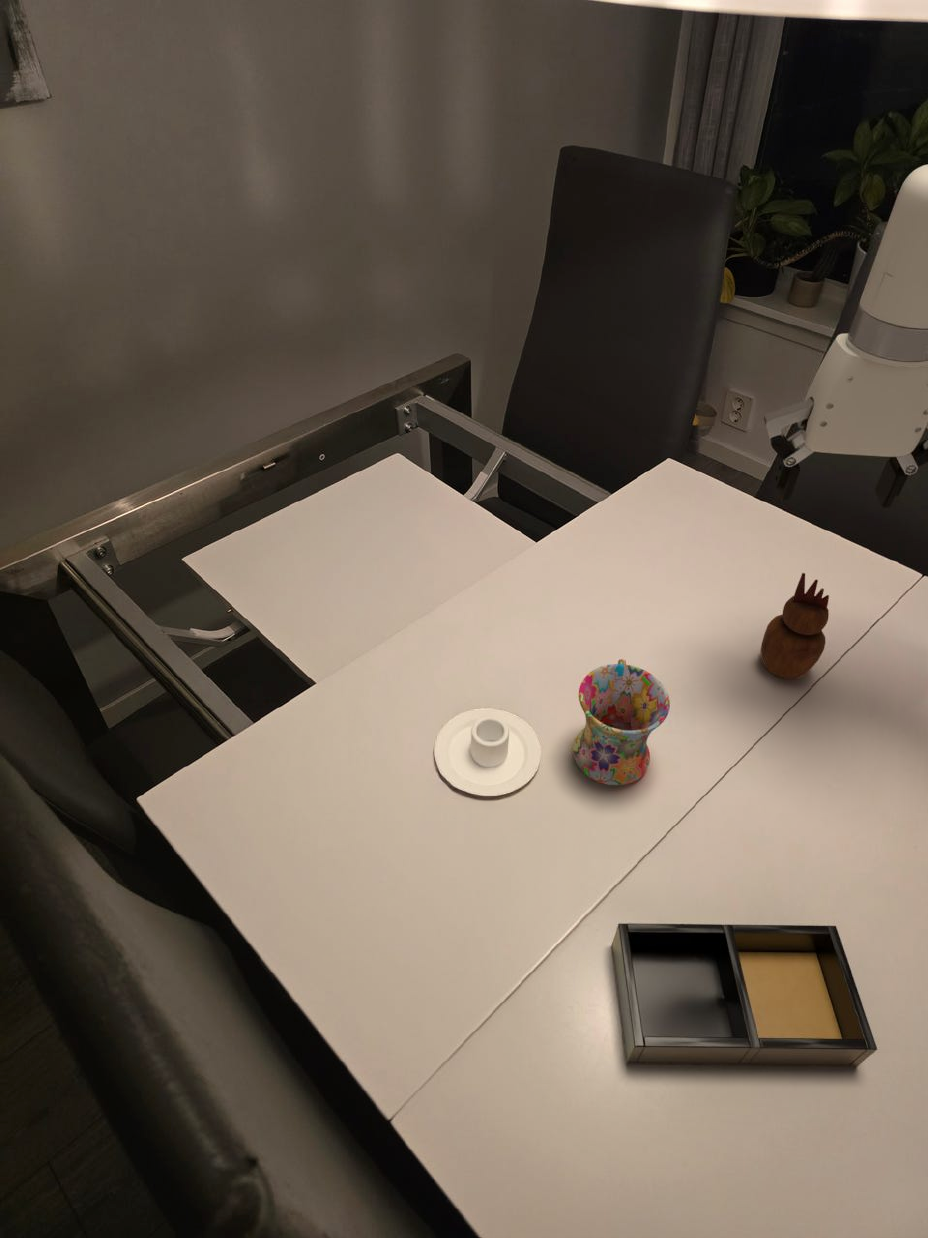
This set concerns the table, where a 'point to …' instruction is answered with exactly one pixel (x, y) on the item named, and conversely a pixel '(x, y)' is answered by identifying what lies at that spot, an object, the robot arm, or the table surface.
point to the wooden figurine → (796, 633)
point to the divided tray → (738, 996)
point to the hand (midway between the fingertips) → (831, 496)
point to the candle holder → (487, 752)
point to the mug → (618, 722)
